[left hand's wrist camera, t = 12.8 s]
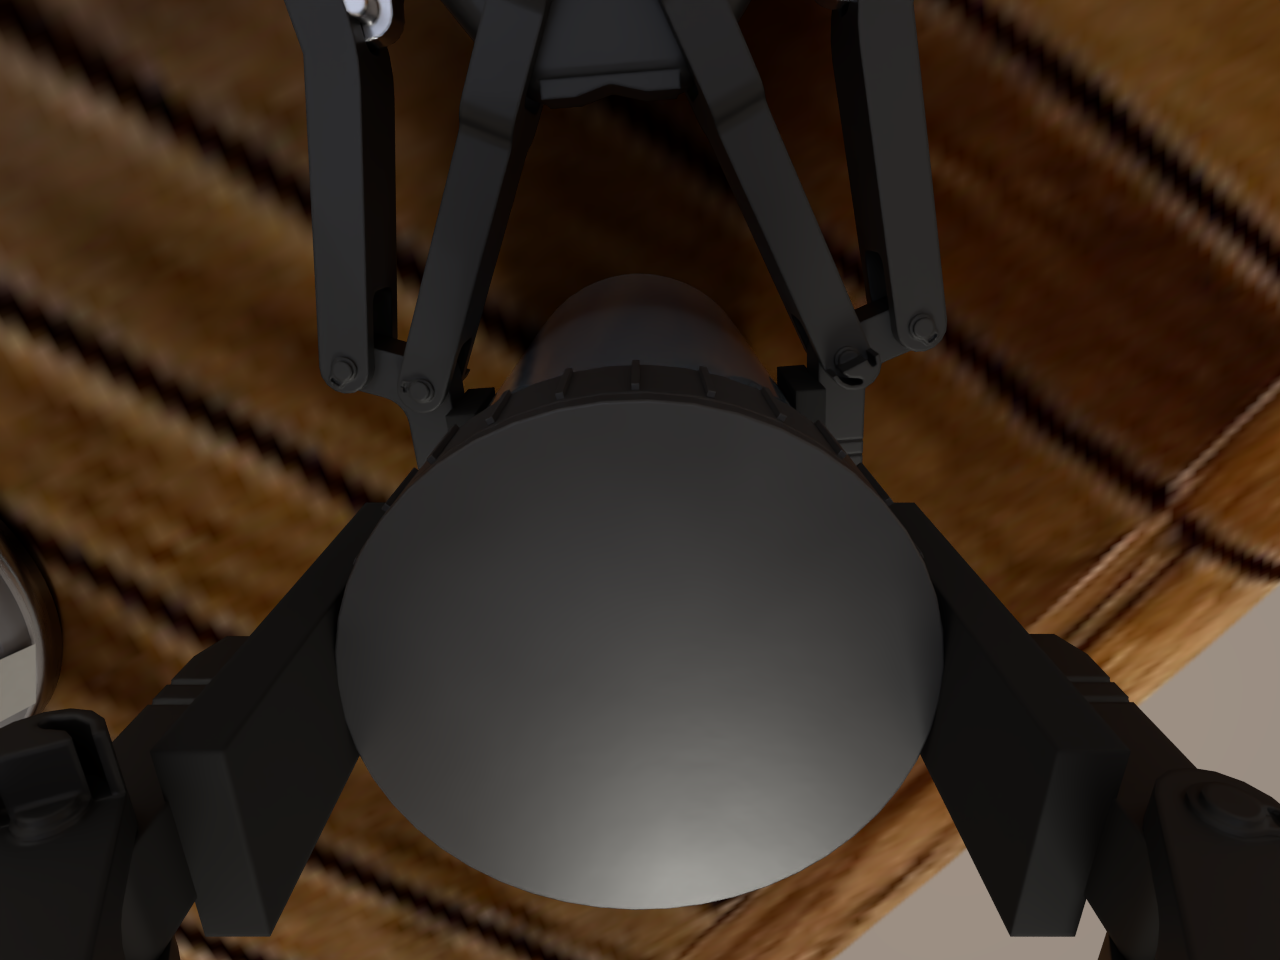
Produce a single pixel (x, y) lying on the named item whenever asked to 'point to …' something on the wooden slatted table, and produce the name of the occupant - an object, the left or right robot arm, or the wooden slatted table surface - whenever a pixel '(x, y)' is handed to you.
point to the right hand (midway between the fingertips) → (651, 599)
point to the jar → (639, 334)
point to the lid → (639, 641)
